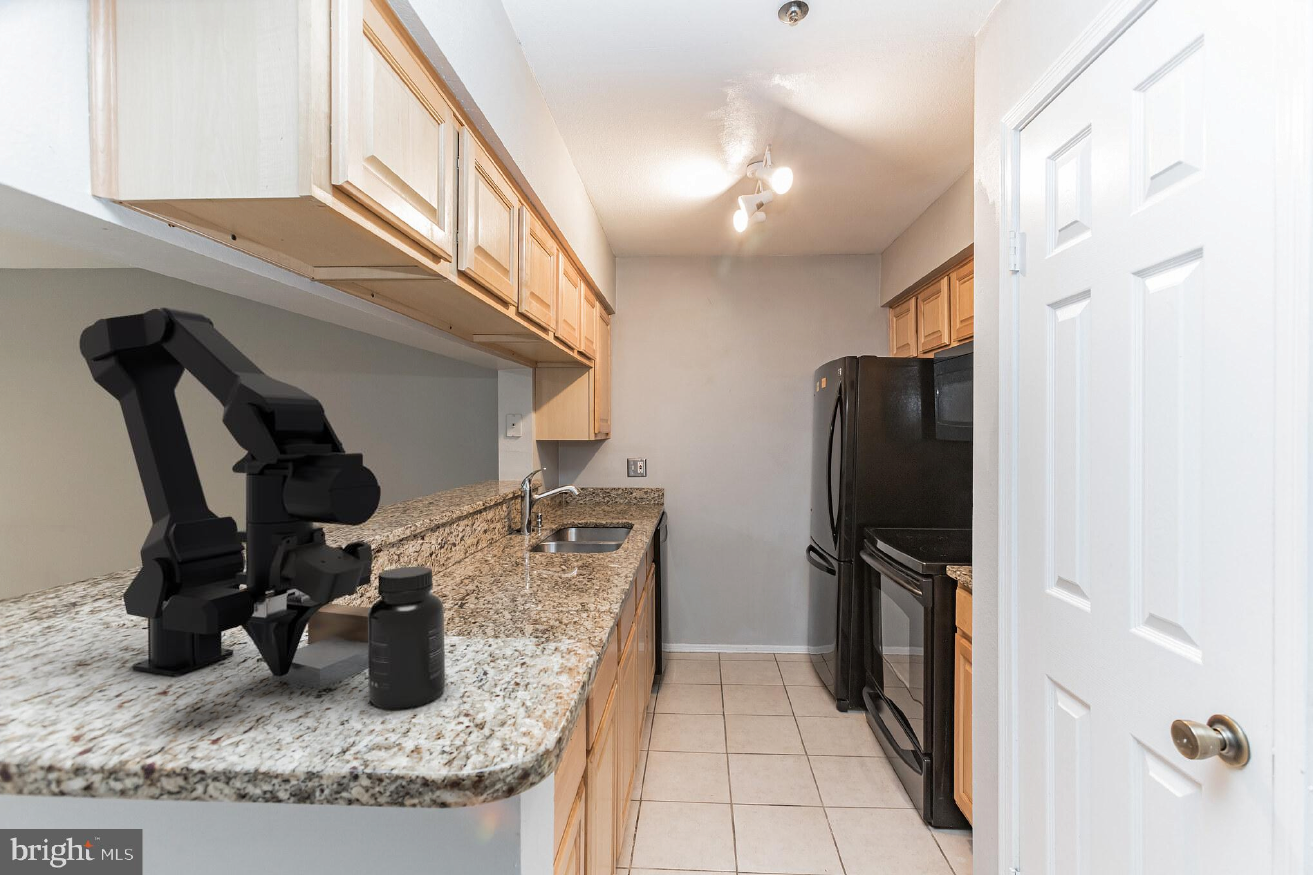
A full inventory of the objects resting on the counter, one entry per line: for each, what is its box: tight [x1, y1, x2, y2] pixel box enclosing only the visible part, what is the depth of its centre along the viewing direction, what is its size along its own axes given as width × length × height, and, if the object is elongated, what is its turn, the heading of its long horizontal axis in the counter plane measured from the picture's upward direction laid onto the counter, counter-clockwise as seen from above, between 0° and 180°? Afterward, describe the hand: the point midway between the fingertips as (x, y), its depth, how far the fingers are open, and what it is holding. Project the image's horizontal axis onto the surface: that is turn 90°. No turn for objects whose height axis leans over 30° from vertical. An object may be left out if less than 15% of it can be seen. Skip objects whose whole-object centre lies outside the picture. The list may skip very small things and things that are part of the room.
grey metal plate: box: [272, 636, 368, 690], centre depth 64 cm, size 7×7×2 cm
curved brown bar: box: [307, 602, 371, 645], centre depth 72 cm, size 14×3×4 cm, turn 74°
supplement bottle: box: [367, 566, 446, 710], centre depth 58 cm, size 7×7×12 cm
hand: (280, 674), depth 60 cm, fingers closed
